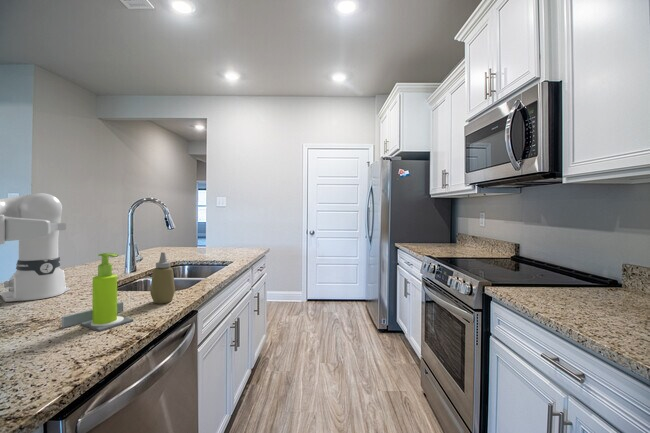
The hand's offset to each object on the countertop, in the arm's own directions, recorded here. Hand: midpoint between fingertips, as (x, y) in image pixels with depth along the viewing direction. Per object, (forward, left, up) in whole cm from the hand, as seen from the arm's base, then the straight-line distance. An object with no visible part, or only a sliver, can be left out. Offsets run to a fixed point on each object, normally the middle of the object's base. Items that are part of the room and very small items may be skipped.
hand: (55, 225), depth 80 cm
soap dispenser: (+2, +11, -29) cm, 31 cm away
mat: (+2, +11, -29) cm, 31 cm away
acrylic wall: (-5, +11, -29) cm, 32 cm away
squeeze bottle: (-3, +32, -29) cm, 44 cm away
